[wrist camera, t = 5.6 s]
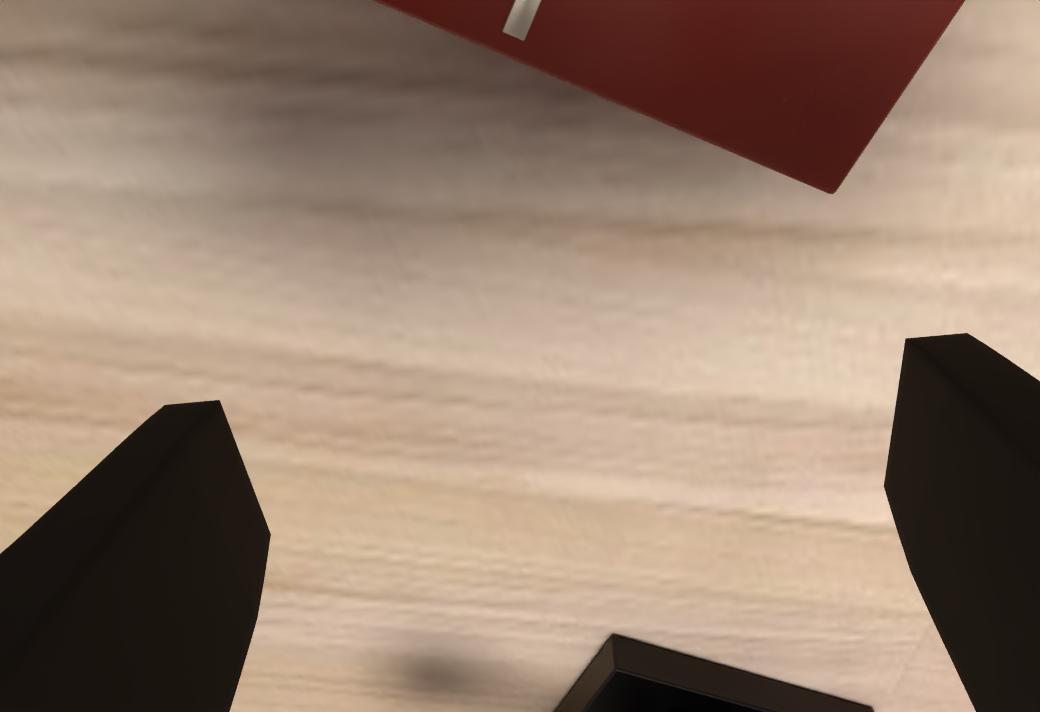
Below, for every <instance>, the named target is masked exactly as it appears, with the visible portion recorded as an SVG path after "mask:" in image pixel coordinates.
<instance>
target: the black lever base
mask: <svg viewBox="0 0 1040 712" xmlns="http://www.w3.org/2000/svg"><path fill="white" fill-rule="evenodd" d="M555 712H874V710H873V709H871V708H867V707H864V706H860V705H857V704H853V703H850V702H846V701H843V700H839V699H836V698H832V697H829V696H825V695H821V694H818V693H814V692H811V691H807V690H804V689H800V688H797V687H793V686H790V685H786V684H783V683H779V682H776V681H772V680H769V679H765V678H762V677H758V676H755V675H751V674H747V673H744V672H740V671H737V670H733V669H730V668H726V667H723V666H719V665H716V664H712V663H709V662H705V661H702V660H698V659H695V658H691V657H688V656H684V655H681V654H677V653H673V652H670V651H666V650H663V649H659V648H656V647H652V646H649V645H645V644H642V643H638V642H635V641H631V640H628V639H624V638H621V637H617V636H612V637H611V638H610V640H609V641H608V642H607V644H606V645H605V646H604V648H603V649H602V650H601V652H600V653H599V654H598V656H597V657H596V658H595V660H594V661H593V662H592V664H591V665H590V666H589V668H588V669H587V670H586V672H585V673H584V674H583V676H582V677H581V678H580V680H579V681H578V682H577V684H576V685H575V686H574V688H573V689H572V690H571V692H570V693H569V694H568V696H567V697H566V698H565V700H564V701H563V702H562V704H561V705H560V706H559V707H558V709H557V710H556V711H555Z"/></svg>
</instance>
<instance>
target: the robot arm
mask: <svg viewBox="0 0 1040 712" xmlns="http://www.w3.org/2000/svg"><path fill="white" fill-rule="evenodd" d="M884 488H885V491H886V495H887V498H888V501H889V505H890V508H891V511H892V515H893V518H894V521H895V525H896V528H897V531H898V534H899V537H900V540H901V543H902V546H903V550H904V553H905V556H906V559H907V562H908V565H909V568H910V571H911V573H912V575H913V578H914V580H915V582H916V584H917V587H918V589H919V591H920V593H921V595H922V598H923V600H924V602H925V604H926V606H927V608H928V610H929V613H930V615H931V617H932V619H933V621H934V623H935V626H936V628H937V630H938V632H939V634H940V636H941V639H942V641H943V643H944V645H945V647H946V649H947V651H948V653H949V655H950V658H951V660H952V662H953V664H954V666H955V668H956V670H957V672H958V674H959V677H960V679H961V681H962V683H963V685H964V687H965V689H966V691H967V693H968V696H969V698H970V700H971V702H972V704H973V706H974V708H975V710H976V712H1040V381H1039V380H1037V379H1036V378H1034V377H1033V376H1031V375H1030V374H1029V373H1027V372H1026V371H1024V370H1023V369H1021V368H1020V367H1018V366H1017V365H1015V364H1014V363H1012V362H1011V361H1010V360H1008V359H1007V358H1005V357H1004V356H1002V355H1001V354H999V353H998V352H996V351H995V350H993V349H992V348H990V347H989V346H987V345H986V344H984V343H982V342H981V341H979V340H978V339H976V338H974V337H973V336H971V335H970V334H968V333H963V334H952V335H940V336H929V337H918V338H907V339H905V346H904V353H903V360H902V366H901V373H900V380H899V387H898V394H897V401H896V407H895V414H894V421H893V428H892V435H891V441H890V448H889V455H888V462H887V469H886V476H885V482H884ZM270 536H271V534H270V531H269V529H268V526H267V523H266V521H265V518H264V515H263V513H262V510H261V508H260V505H259V502H258V500H257V497H256V494H255V492H254V489H253V487H252V484H251V481H250V479H249V476H248V474H247V471H246V468H245V466H244V463H243V460H242V458H241V455H240V453H239V450H238V447H237V445H236V442H235V439H234V437H233V434H232V432H231V429H230V426H229V424H228V421H227V418H226V416H225V413H224V411H223V408H222V405H221V403H220V400H215V401H204V402H193V403H182V404H171V405H164V406H163V407H162V408H161V409H160V410H158V411H157V412H156V413H155V414H153V415H152V416H151V417H150V418H149V419H147V420H146V421H145V422H144V423H143V424H142V425H141V426H139V427H138V428H137V429H136V430H135V431H134V432H133V433H132V434H131V435H129V436H128V437H127V438H126V439H125V440H124V441H123V442H122V443H121V444H120V445H119V446H117V447H116V448H115V449H114V450H113V451H112V452H111V453H110V454H109V455H108V456H107V457H106V458H105V459H103V460H102V461H101V462H100V463H99V464H98V465H97V466H96V467H95V468H94V469H93V470H92V471H91V472H90V473H89V474H87V475H86V476H85V477H84V478H83V479H82V480H81V481H80V482H79V483H78V484H77V485H76V486H75V487H73V488H72V489H71V490H70V491H69V492H68V493H67V494H66V495H65V496H64V497H63V498H62V499H60V500H59V501H58V502H57V503H56V504H55V505H54V506H53V507H52V508H51V509H50V510H48V511H47V512H46V513H45V514H44V515H43V516H42V517H41V518H40V519H39V520H38V521H37V522H35V523H34V524H33V525H32V526H31V527H30V528H29V529H28V530H27V531H26V532H25V533H23V534H22V535H21V536H20V537H19V538H18V539H17V540H16V541H15V542H14V543H12V544H11V545H10V546H9V547H8V548H7V549H5V550H4V551H3V552H2V553H1V554H0V712H229V711H230V708H231V705H232V702H233V698H234V695H235V692H236V689H237V685H238V682H239V679H240V675H241V672H242V669H243V665H244V662H245V659H246V655H247V652H248V649H249V645H250V642H251V638H252V635H253V631H254V628H255V625H256V621H257V617H258V611H259V605H260V600H261V594H262V589H263V583H264V577H265V570H266V563H267V557H268V550H269V543H270Z"/></svg>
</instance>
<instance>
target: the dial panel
mask: <svg viewBox="0 0 1040 712" xmlns="http://www.w3.org/2000/svg"><path fill="white" fill-rule="evenodd" d="M373 1H375V2H378V3H380V4H382V5H385V6H387V7H389V8H392V9H394V10H397V11H399V12H401V13H404V14H406V15H408V16H411V17H413V18H415V19H418V20H420V21H422V22H425V23H427V24H430V25H432V26H434V27H437V28H439V29H441V30H444V31H446V32H448V33H451V34H453V35H455V36H458V37H460V38H463V39H465V40H467V41H470V42H472V43H474V44H477V45H479V46H481V47H484V48H486V49H489V50H491V51H493V52H496V53H498V54H500V55H503V56H505V57H507V58H510V59H512V60H514V61H517V62H519V63H522V64H524V65H526V66H529V67H531V68H533V69H536V70H538V71H540V72H543V73H545V74H548V75H550V76H552V77H555V78H557V79H559V80H562V81H564V82H566V83H569V84H571V85H573V86H576V87H578V88H581V89H583V90H585V91H588V92H590V93H592V94H595V95H597V96H599V97H602V98H604V99H606V100H609V101H611V102H614V103H616V104H618V105H621V106H623V107H625V108H628V109H630V110H632V111H635V112H637V113H640V114H642V115H644V116H647V117H649V118H651V119H654V120H656V121H658V122H661V123H663V124H665V125H668V126H670V127H673V128H675V129H677V130H680V131H682V132H684V133H687V134H689V135H691V136H694V137H696V138H699V139H701V140H703V141H706V142H708V143H710V144H713V145H715V146H717V147H720V148H722V149H724V150H727V151H729V152H732V153H734V154H736V155H739V156H741V157H743V158H746V159H748V160H750V161H753V162H755V163H757V164H760V165H762V166H765V167H767V168H769V169H772V170H774V171H776V172H779V173H781V174H783V175H786V176H788V177H791V178H793V179H795V180H798V181H800V182H802V183H805V184H807V185H809V186H812V187H814V188H816V189H819V190H821V191H824V192H826V193H829V194H834V193H835V192H836V191H837V189H838V188H839V186H840V185H841V183H842V182H843V180H844V179H845V177H846V176H847V174H848V173H849V171H850V170H851V168H852V167H853V165H854V164H855V162H856V161H857V160H858V158H859V157H860V155H861V154H862V152H863V151H864V149H865V148H866V146H867V145H868V143H869V142H870V140H871V139H872V137H873V136H874V134H875V133H876V131H877V130H878V128H879V127H880V126H881V124H882V123H883V121H884V120H885V118H886V117H887V115H888V114H889V112H890V111H891V109H892V108H893V106H894V105H895V103H896V102H897V100H898V99H899V97H900V96H901V94H902V93H903V92H904V90H905V89H906V87H907V86H908V84H909V83H910V81H911V80H912V78H913V77H914V75H915V74H916V72H917V71H918V69H919V68H920V66H921V65H922V63H923V62H924V60H925V59H926V58H927V56H928V55H929V53H930V52H931V50H932V49H933V47H934V46H935V44H936V43H937V41H938V40H939V38H940V37H941V35H942V34H943V32H944V31H945V29H946V28H947V26H948V25H949V24H950V22H951V21H952V19H953V18H954V16H955V15H956V13H957V12H958V10H959V9H960V7H961V6H962V4H963V3H964V1H965V0H373Z"/></svg>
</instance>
